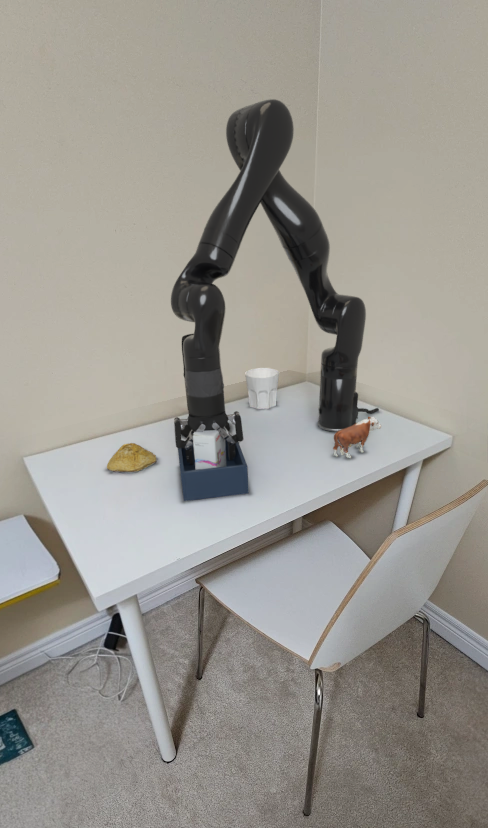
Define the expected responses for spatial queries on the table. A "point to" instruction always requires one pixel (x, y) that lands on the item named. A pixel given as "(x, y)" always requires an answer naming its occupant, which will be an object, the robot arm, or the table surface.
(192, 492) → the box
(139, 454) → the fossil
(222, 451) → the ink box
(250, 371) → the cup
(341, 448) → the bull figurine
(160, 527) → the table surface
